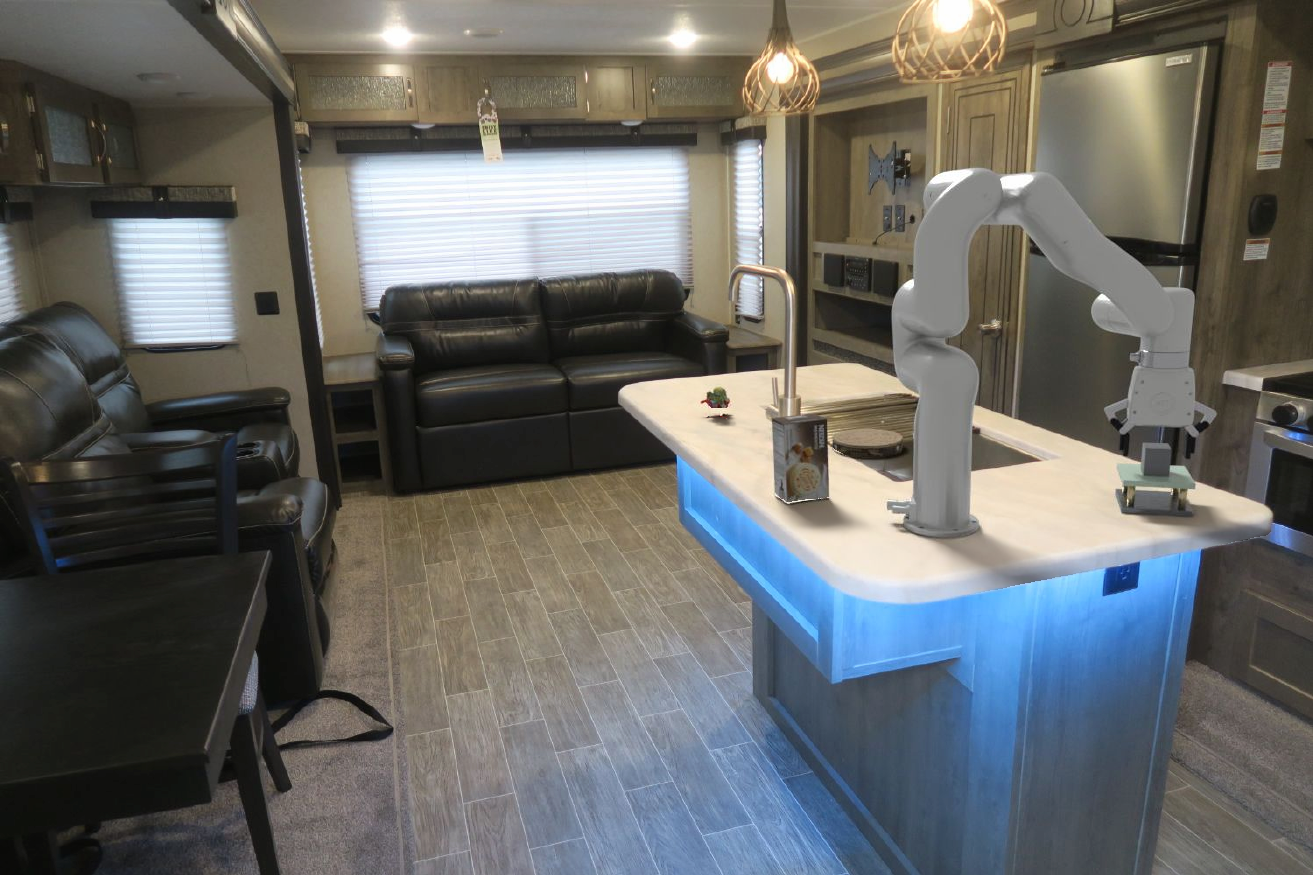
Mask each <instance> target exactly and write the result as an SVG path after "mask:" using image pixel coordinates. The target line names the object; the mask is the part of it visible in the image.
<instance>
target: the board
mask: <svg viewBox="0 0 1313 875" xmlns="http://www.w3.org/2000/svg"><path fill="white" fill-rule="evenodd" d="M1140 459H1141V460H1140V463H1139V464H1138V463H1123V462H1122V463H1120V462H1119V463H1116V470H1117V473H1118V476H1119V478H1120V479H1119V480H1121V484H1123V486H1136V487H1138V488H1139V487H1141V488H1142V487H1143V488H1144V487H1145V488H1160V489H1162V488H1164V489H1171V488H1179V490H1180V489H1188V490H1196V482H1195V480H1194V479H1193V477H1192V475H1191V474H1190V473H1189V471H1188V469H1187V467H1186V466H1185V465H1171V459H1172V448H1171V446H1170V445H1169V443H1164V442H1142V448H1141V458H1140Z"/></svg>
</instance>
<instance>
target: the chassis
mask: <svg viewBox="0 0 1313 875" xmlns="http://www.w3.org/2000/svg"><path fill="white" fill-rule="evenodd" d="M1121 484H1122V483H1121ZM1136 487H1137V486H1123V484H1122V487H1121V488H1115V497H1116V501H1117V503H1118V506H1119V510H1120V513H1121V514H1137V515H1138V514H1140V515H1150V516H1151V515H1152V516H1153V515H1155V516H1157V515H1158V516H1166V517H1167V516H1169V517H1186V518H1187V517H1188V518H1193V517H1194V510H1193V509H1192V507H1191V504H1190V503H1189V501H1188V491H1189V489H1179V488H1170V489H1171V490H1170V491H1165V490H1143V489H1136Z"/></svg>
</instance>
